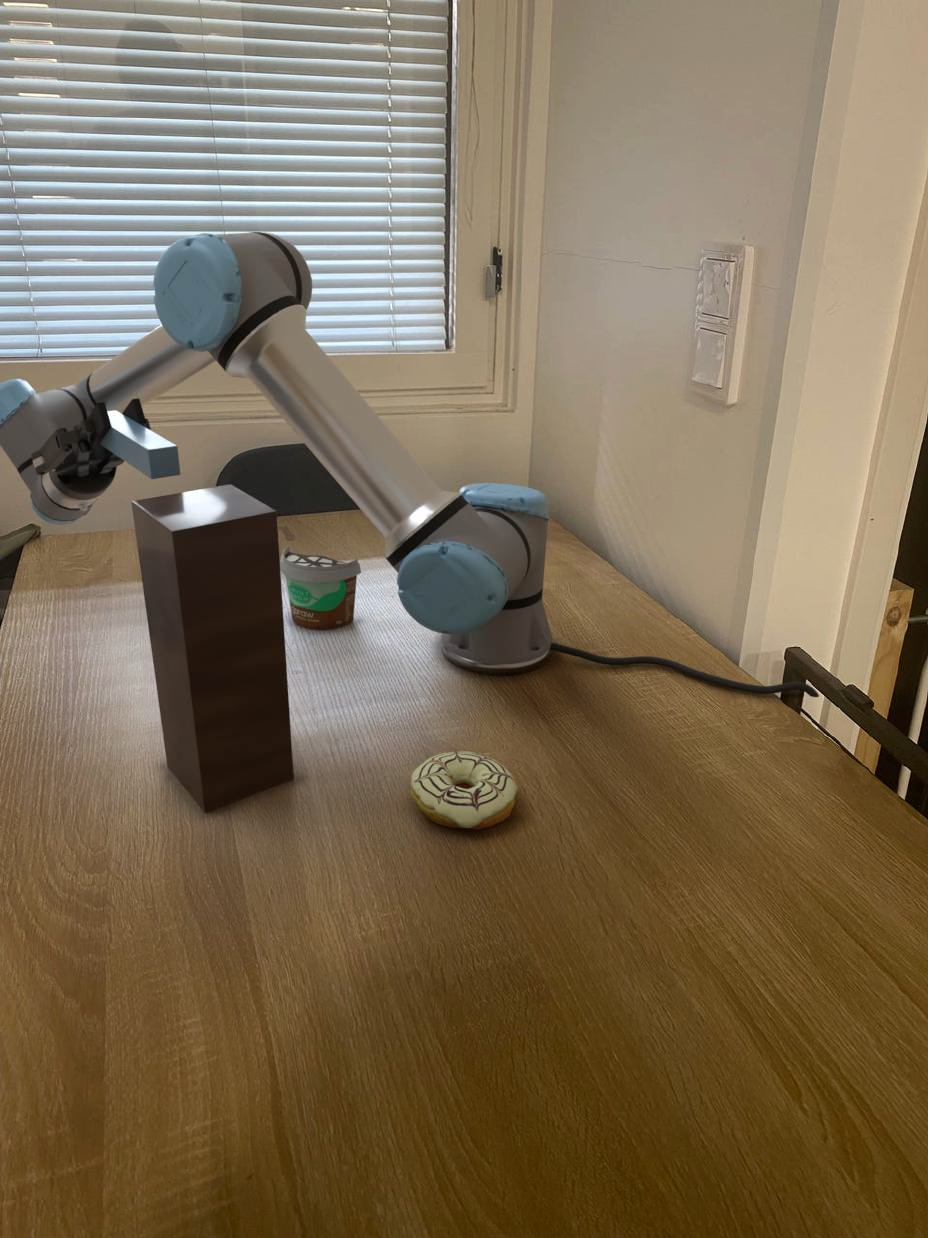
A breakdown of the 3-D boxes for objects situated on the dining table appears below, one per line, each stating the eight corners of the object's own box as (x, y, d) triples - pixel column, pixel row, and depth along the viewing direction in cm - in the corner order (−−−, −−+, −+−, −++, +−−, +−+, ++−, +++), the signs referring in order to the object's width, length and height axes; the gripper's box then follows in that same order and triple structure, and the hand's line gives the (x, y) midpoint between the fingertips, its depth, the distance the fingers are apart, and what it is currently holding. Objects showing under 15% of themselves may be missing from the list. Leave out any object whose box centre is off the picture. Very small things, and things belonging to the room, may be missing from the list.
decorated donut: (477, 852, 87) (478, 820, 85) (390, 810, 93) (390, 779, 91) (533, 798, 95) (535, 769, 93) (450, 763, 100) (451, 734, 99)
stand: (167, 766, 98) (131, 500, 86) (252, 737, 104) (230, 484, 91) (204, 813, 91) (171, 531, 78) (294, 779, 97) (276, 510, 84)
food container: (266, 624, 131) (261, 559, 126) (289, 607, 136) (285, 545, 131) (341, 640, 127) (339, 574, 122) (362, 623, 132) (360, 559, 127)
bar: (93, 439, 103) (89, 413, 102) (119, 436, 104) (116, 410, 103) (151, 479, 90) (148, 449, 89) (180, 474, 92) (177, 445, 90)
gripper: (149, 490, 121) (203, 436, 102) (20, 511, 112) (53, 457, 93) (133, 436, 121) (184, 371, 101) (3, 453, 112) (32, 385, 92)
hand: (122, 412), depth 97 cm, fingers closed on bar, 3 cm apart
